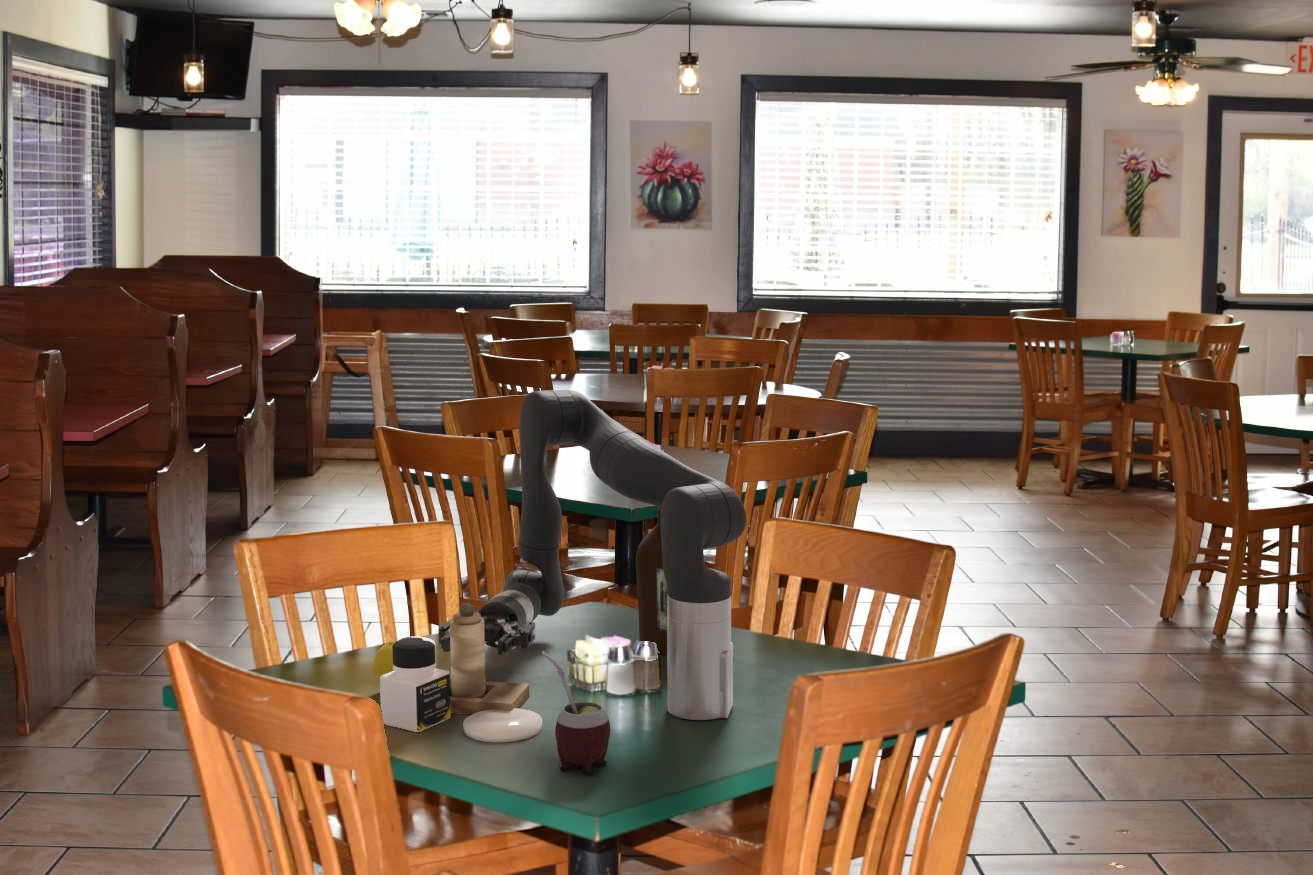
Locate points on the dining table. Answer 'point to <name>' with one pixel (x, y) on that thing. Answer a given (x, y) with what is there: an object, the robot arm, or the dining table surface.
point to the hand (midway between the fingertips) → (472, 646)
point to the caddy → (492, 698)
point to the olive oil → (652, 589)
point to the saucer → (502, 725)
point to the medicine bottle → (415, 687)
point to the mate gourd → (581, 732)
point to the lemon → (384, 661)
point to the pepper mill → (467, 653)
